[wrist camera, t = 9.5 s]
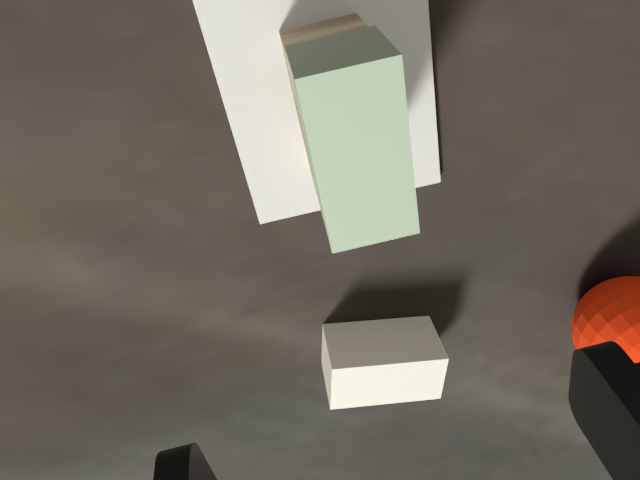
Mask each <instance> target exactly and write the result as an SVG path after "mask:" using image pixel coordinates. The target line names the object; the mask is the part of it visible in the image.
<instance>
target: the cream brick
mask: <svg viewBox="0 0 640 480" xmlns="http://www.w3.org/2000/svg"><path fill="white" fill-rule="evenodd" d="M448 360H449V358H448V356H447V354H446V352H445V349H444V347H443V345H442V343H441V341H440V338H439V336H438V334H437V332H436V329H435V327H434V325H433V323H432V321H431V318H430V316H419V317H406V318H394V319H381V320H368V321H356V322H343V323H330V324H323V326H322V368H323V374H324V379H325V384H326V390H327V395H328V400H329V405H330V410H331V409H341V408H351V407H361V406H371V405H381V404H391V403H401V402H411V401H421V400H431V399H441V394H442V389H443V384H444V379H445V374H446V370H447V365H448Z"/></svg>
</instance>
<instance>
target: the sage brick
mask: <svg viewBox="0 0 640 480" xmlns="http://www.w3.org/2000/svg"><path fill="white" fill-rule="evenodd" d="M284 47H285V51H286V56H287V60H288V65H289V69H290V74H291V78H292V83H293V87H294V92H295V97H296V101H297V106H298V110H299V115H300V119H301V124H302V128H303V133H304V137H305V142H306V146H307V151H308V155H309V160H310V165H311V169H312V174H313V178H314V183H315V187H316V192H317V196H318V201H319V205H320V209H321V212H322V216H323V220H324V224H325V228H326V231H327V235H328V239H329V243H330V246H331V250H332V254H333V253H337V252H341V251H345V250H350V249H354V248H358V247H362V246H367V245H371V244H375V243H380V242H384V241H388V240H392V239H397V238H401V237H405V236H410V235H414V234H418V233H420V229H419V219H418V209H417V199H416V189H415V179H414V169H413V159H412V149H411V139H410V129H409V119H408V109H407V99H406V89H405V79H404V69H403V59H402V54H401V53H400V52H399V51H398V50H397V48H396V47H395V46H394V45H393V44H392V43H391V42H390V41H389V40H388V39H387V38H386V37H385V36H384V35H383V33H382V32H381V31H380V30H379V29H378V28H377V27H376V26H375V25H374V26H370V27H365V28H361V29H357V30H352V31H348V32H344V33H339V34H335V35H331V36H326V37H322V38H318V39H313V40H309V41H305V42H300V43H296V44H292V45H288V46H284Z"/></svg>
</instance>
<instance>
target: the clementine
mask: <svg viewBox="0 0 640 480" xmlns="http://www.w3.org/2000/svg"><path fill="white" fill-rule="evenodd" d="M571 329H572V338H573V344H574V346H575V348H576V349H579V348H584V347H588V346H592V345H596V344H600V343H604V342H608V341H614V342H616V343H617V344H618V345H620V346H621V348H622V349H623V350H624V351H625V352H626V353H627V355H628V356H629V357H630V358H631V359H632V361H633V362H634V363H638V362H640V277H638V276H622V277H615V278H612V279H609V280H606V281H603V282H601V283H600V284H598V285H596V286H594V287H593V288H592V289H590V290H589V291H588V292H587V293H586V294H585V295H584V296H583V297H582V298H581V299H580V301H579V302H578V304H577V306H576V308H575V312H574V315H573V319H572V323H571Z"/></svg>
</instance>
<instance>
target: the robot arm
mask: <svg viewBox="0 0 640 480" xmlns="http://www.w3.org/2000/svg"><path fill="white" fill-rule="evenodd" d="M569 403H570V407H571V410H572V413H573V415H574V418H575V420H576V422H577V424H578V425H579V427H580V428H581V430H582V432H583V433H584V435H585V436H586V438H587V439H588V441H589V443H590V444H591V446H592V447H593V449H594V450H595V452H596V454H597V455H598V457H599V458H600V460H601V461H602V463H603V465H604V466H605V468H606V469H607V471H608V472H609V474H610V476H611V477H612V479H613V480H640V362H638V363H634V362H633V361H632V359H631V358H630V357H629V356H628V355H627V353H626V352H625V351H624V350H623V349H622V348H621V346H620V345H618V344H617V343H616V342H614V341H608V342H604V343H600V344H596V345H592V346H588V347H584V348H579V349H576V350H575V351H574V352H573V358H572V367H571V376H570V386H569ZM153 480H217V479H216V477H215V475H214V474H213V472H212V470H211V468H210V466H209V464H208V463H207V461H206V459H205V457H204V455H203V453H202V452H201V450H200V448H199V446H198V445H197V444H196V443H192V444H188V445H184V446H180V447H176V448H172V449H168V450H164V451H160V452H159V453H158V455H157V457H156V462H155V470H154V478H153Z"/></svg>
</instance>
